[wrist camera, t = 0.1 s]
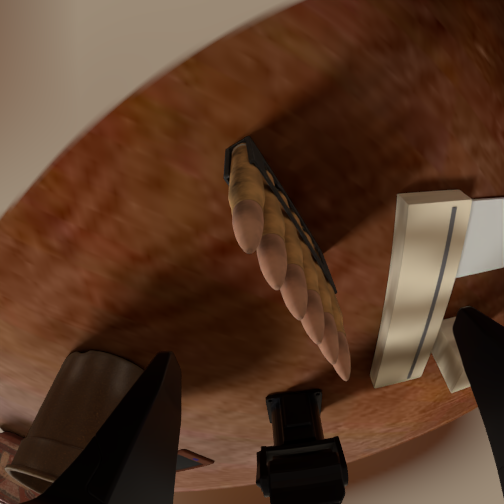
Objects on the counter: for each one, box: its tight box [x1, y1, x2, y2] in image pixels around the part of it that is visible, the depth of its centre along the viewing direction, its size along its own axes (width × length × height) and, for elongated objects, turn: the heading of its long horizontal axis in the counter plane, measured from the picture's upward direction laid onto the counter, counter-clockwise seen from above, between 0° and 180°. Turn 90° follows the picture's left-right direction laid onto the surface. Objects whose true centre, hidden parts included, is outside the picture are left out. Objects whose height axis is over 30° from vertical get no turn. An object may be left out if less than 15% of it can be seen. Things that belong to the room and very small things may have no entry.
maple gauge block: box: [431, 317, 470, 393], centre depth 28 cm, size 4×6×7 cm, turn 97°
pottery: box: [0, 432, 40, 504], centre depth 43 cm, size 18×18×18 cm
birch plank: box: [370, 189, 472, 388], centre depth 27 cm, size 22×6×2 cm, turn 7°
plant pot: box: [5, 350, 144, 494], centre depth 27 cm, size 16×16×16 cm
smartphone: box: [176, 449, 214, 472], centre depth 47 cm, size 7×1×15 cm
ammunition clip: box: [224, 136, 351, 381], centre depth 18 cm, size 11×2×12 cm, turn 32°
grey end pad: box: [455, 197, 504, 278], centre depth 24 cm, size 8×8×1 cm
